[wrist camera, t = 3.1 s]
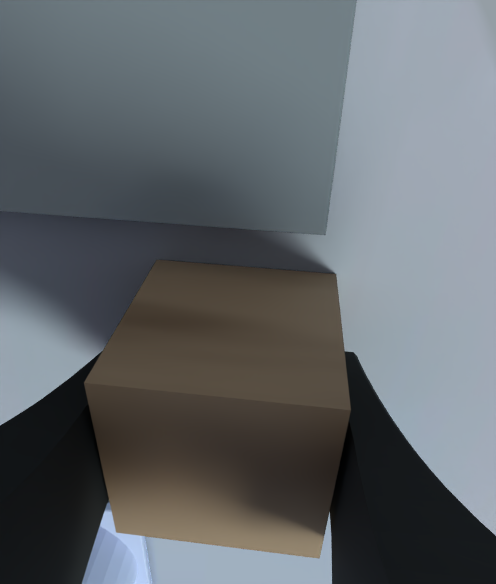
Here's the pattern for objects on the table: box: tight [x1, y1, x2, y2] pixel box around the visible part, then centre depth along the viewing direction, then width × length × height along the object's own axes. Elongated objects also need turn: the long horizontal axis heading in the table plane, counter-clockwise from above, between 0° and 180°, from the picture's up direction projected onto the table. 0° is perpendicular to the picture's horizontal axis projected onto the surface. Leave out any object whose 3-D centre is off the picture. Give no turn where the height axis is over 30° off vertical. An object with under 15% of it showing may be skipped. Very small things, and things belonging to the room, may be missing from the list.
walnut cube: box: [84, 260, 351, 558], centre depth 12 cm, size 5×5×5 cm
